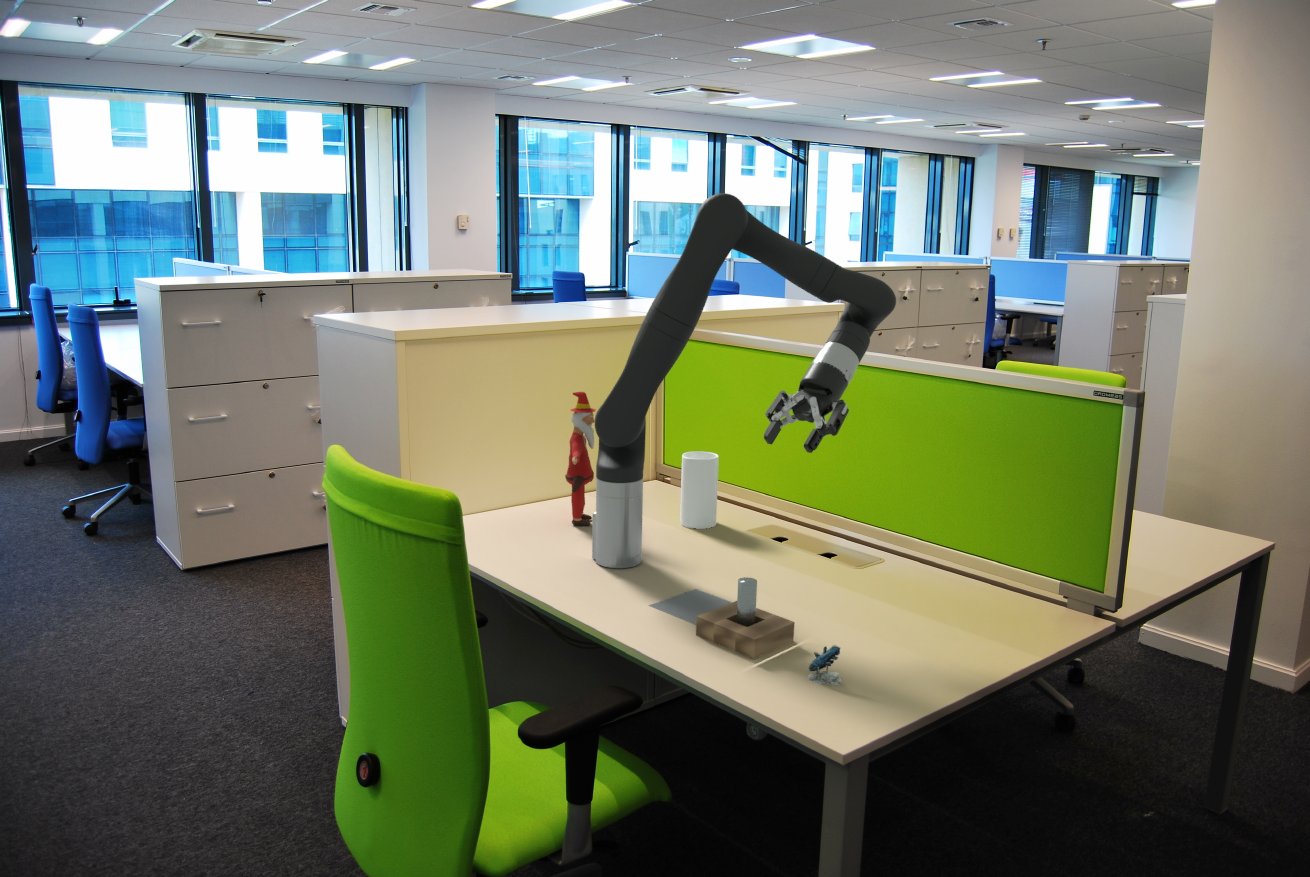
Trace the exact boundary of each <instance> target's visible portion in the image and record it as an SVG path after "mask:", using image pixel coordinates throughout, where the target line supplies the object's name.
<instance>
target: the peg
mask: <svg viewBox="0 0 1310 877" xmlns="http://www.w3.org/2000/svg"><path fill="white" fill-rule="evenodd" d="M757 590H758V580H757V579H756V578H754V577H749V576H747V577H745V576H743V577H740V578H739V579H738V580H737V600H736V601H737V623H738V624H740V625H743V626H745V627H749V626H751V625H754V624H755V621H756V608H757V595H758V594H757V593H758V591H757Z"/></svg>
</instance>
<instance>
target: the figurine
mask: <svg viewBox="0 0 1310 877" xmlns="http://www.w3.org/2000/svg"><path fill="white" fill-rule="evenodd" d="M572 395H573V396H575V397H577V400H576V401H577V402H576V405H575V407H574V408H571V409H570V411H571V412H573V413H572V415H571V419H570V421H571V422H572V424H573V430H572V433H571V437H570V439H569V455H568V466H567V469H566V470H567V471H566V473H565V475H564V477H565V480H566V483H568V484H570V485H571V514H572V516H571V517H572V521H571V524H572V525H573V526H590V525H591V521H590V520H593V516H591V515H589V514H585V513H584V509H585V506H586V496H585V494H586V493H585V492H586V491H585V490H586V489H585V488H586V487H585V486H586V485H587V484H589V483H590V482H591V483H592V482H593V480H594V478H595V473H594V470H593V468H592V464H591V460H590V456H589V452H588V448H587V444H588V447H589V448H590V449H591V450H593V449H594V446H595V436H594V435H595V434H594V433H595V430H594V428H592V426H593V424H595V417H594V412H597V410H596V409H595V408H592V407H591V405H590V402H589V399H588V396H587V393H586V392H585V391H576V392H572Z"/></svg>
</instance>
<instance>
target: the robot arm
mask: <svg viewBox="0 0 1310 877" xmlns="http://www.w3.org/2000/svg"><path fill="white" fill-rule="evenodd" d="M732 250H733V251H736V252H738V253H742V254H744V255H746V256H749V257H750V258H752V259H754V260H756V261H758V262H759V263H761V264H763V265H765V266H766V267H768V268H769V269H771V270H772V271H774V272H775V273H777V274H778V275H780V276H781V277H782V278H784V279H786V280H787V282H788V281H789V283H792V285H795V286H797V287H798V288H799V289H801V290H803V291H805V292H806V293H808V294H810V295H811V296H813V297H815V298H817V299H819V300H820V301H822V302H825V303H827V304H830V303H834V302H836V301H842V302H846V303H847V304H846V305H845V307H844V309H843V311H842V313H841V315H840V317H839V319H838V322H837V324H836V326H835V328H833V330H832V332H831V333H830V335H829V337H828V339H827V340H826V341H825V343H824V345H823V346H822V348H821V349H820V350H819V351H818V352H817V353H816V356H814V358H813V359H812V362H811V364H810V365H809V367H808V368H807V370H806V372H805V374H804V375H803V377H802V378H801V380H800V382H799V385H798V390H796V392H795V393H794V394H793V395H792V394H789V393H787V392H786V391H785V390H783V389H782V390H781V391H779V392H778V394H777V396H776V397H774V398H775V399H774V400H773V402H772V403H771V404H770V405H769V407H768V408H767V410H766V411H765V414H764V415H765V417H766V418H767V420H768V421H769V424H768V426H767V428H766V429H765V431H764V432H763V439H764V441H765V442H766V443H767V445H773V443H774V442H775V440H776V438H777V437H778V436H779V434H780V432H781V431H782V428H783V427H785V426H787V425H788V424H794V423H795V422H797V421H800V422H808V423H810V424H811V423H812V424H813V423H814V426H815V428H812V429H811V432H809V435H808V437H807V438H806V440H805V442H804V443H803V448H804V450H805V452H807V453H808V454H812V453H813V452H814V451H816V450H817V448H818V447H819V445H820V443H821V442H822V440H823V438H825V437H827V435H831V436H832V437H835V436H837V435H838V434H839V432H840V430H841V428H842V425H843V424H844V422H845V420H846V418H847V416H848V414H849V411H850V409H849V408H848V405H847V403H846V402H845V400H844V399H841V398H842V396H843V394H844V392H845V391H846V389H847V388H848V386H849V385H850V382H851V381H852V379H853V377H854V376H855V373H856V371H857V369H858V367H859V364H860V363H861V361H862V359H863V358H864V356H865V354H866V352H867V350H868V349H869V346H870V343H871V337H872V335H873V333H874V332H875V330H876V329H877V328H878V326H880V324H881V323H882V322H883V321H884V320H885V319H886V318H887V317H889V316H890V315H891V313H892V312H893V311H894V309H895V308H896V305H897V298H896V294H895V292H894V291H893V289H892V288H891V287H890V286H889V285H888V284H887V283H886V282H884V281H883V280H881V279H880V278H877V277H874V276H872V275H868V274H865V273H862V272H858V271H855V270H852V269H848V268H844V267H843V266H841V265H840V264H837V263H836V262H834V261H833V260H831V259H830V258H827V257H826V256H824V255H822V254H821V253H818V252H817V251H815V250H813V249H811V248H809V247H807V246H805V245H803V244H800V243H799V242H797V241H794V240H792V239H790V238H789V237H786V236H784V235H782V234H780V233H779V232H777V231H775V230H774V229H772V228H770V227H769V226H767V225H766V224H764V223H763V222H762V221H761V220H760V219H758V218H757V217H755V216H754V215H753V214H752V213H751V212H749V211H748V210H747V209H746V206H745V205H744V204H743V201H741V199H739V198H738V197H737V196H735V195H732V194H731V193H726V192H725V193H723V192H721V193H719V192H718V193H716V194H713V195H711V196H709V197H708V198H706V199H705V200H704V201H703V202H702V203H701V205H700V206H699V208H698V211H697V213H696V217H695V220H694V223H693V225H692V229H691V231H690V234H689V237H688V238H687V240H686V244H685V246H684V248H683V251H682V253H681V255H680V257H679V258H678V261H677V263H675V265H674V267H673V268H672V270H671V271H670V273H669V274H668V276H667V277H666V279H665V280H664V282H663V284H662V285H661V287H660V288H659V291H657V294H656V295H655V297H654V299H653V301H652V303H651V305H650V307H648V308H649V309H648V311H647V313H646V315H645V317H644V319H643V321H642V323H641V325H640V328H639V329H638V332H637V334H636V337H635V338H634V341H633V344H632V347H631V349H630V352H629V354H628V358H627V360H626V362H625V366H624V368H623V370H622V372H621V374H620V376H619V377H618V379H617V381H616V382H615V384H614V385H613V388H612V389H611V391H610V393H609V394H608V395H607V397H606V398H605V400H604V401H603V403H602V404H601V405H600V406H599V408H598V409H597V410H596V414H595V417H594V429H595V430H594V431H595V433H596V435H597V437H598V452H597V460H596V466H595V478H596V479H595V481H596V482H595V485H596V486H595V511H594V512H593V513H592V525H591V526H592V533H591V534H592V535H591V536H592V538H591V539H592V541H591V543H592V546H591V547H592V548H591V550H592V551H591V558H592V559H594V560H595V563H596V564H597V565H599V566H602V567H605V568H609V569H627V568H628V569H629V568H633V567H635V566H638V565H640V564H641V563H642V555H643V554H642V553H643V552H642V550H643V549H642V548H643V509H644V508H643V506H644V505H643V504H644V503H643V502H644V501H643V498H644V469H645V458H646V457H645V456H646V436H647V435H646V433H647V432H646V431H647V430H646V429H647V427H646V426H647V418H646V417H647V413H648V412H649V409H650V407H651V404H652V401H653V400H654V396H655V395H656V394H657V391H658V388H659V387H660V385H661V384H662V382H663V381H664V380H665V378H666V376H667V375H668V374H669V372H670V371H671V370H672V369H673V366H674V365H675V364H676V363H677V361H678V359H679V357H680V356H681V354H682V353H683V351H684V349H685V347H686V346H687V344H688V342H689V341H690V338H691V337H692V336H693V335H692V334H693V333H694V330H695V329H696V327H697V325H698V323H699V320H700V318H701V316H702V314H703V311H704V308H705V306H706V303H707V301H708V298H709V295H710V292H711V289H712V286H713V283H714V280H715V279H716V277H717V274H718V273H719V271H720V269H721V267H722V266H723V264H724V262H725V261H726V259H727V257H728V256H729V255H730V253H731V251H732ZM790 411H792V414H790ZM830 413H831V414H830ZM829 414H830V416H829V418H828V419H827V420H826V416H827V415H829ZM826 421H827V422H826Z"/></svg>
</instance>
